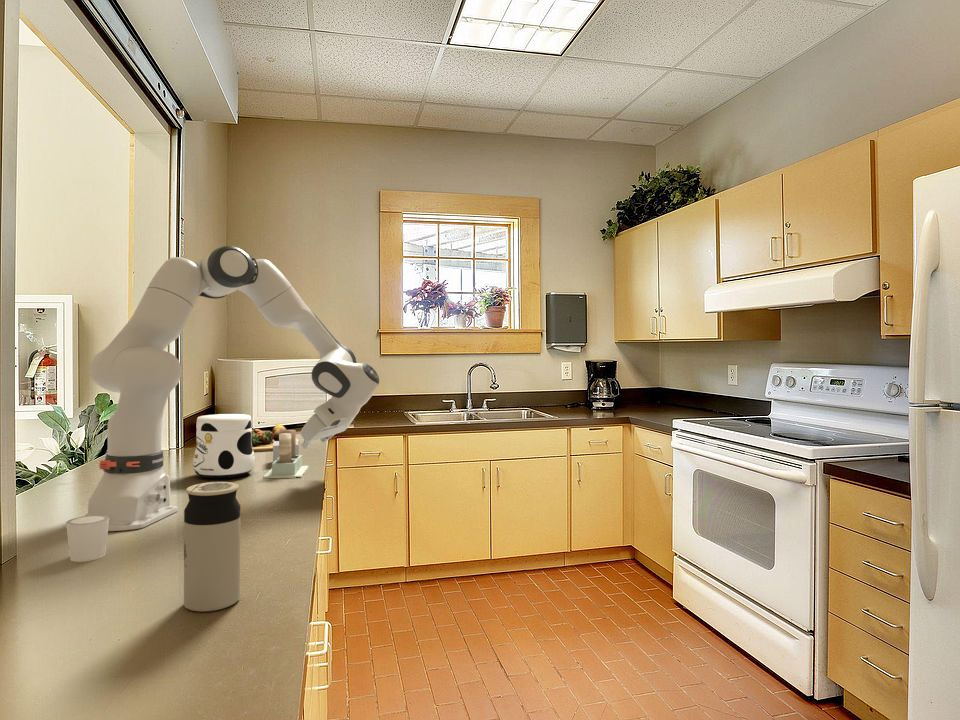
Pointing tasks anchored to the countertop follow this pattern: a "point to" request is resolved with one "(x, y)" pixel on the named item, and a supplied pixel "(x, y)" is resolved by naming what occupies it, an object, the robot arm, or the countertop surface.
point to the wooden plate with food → (266, 438)
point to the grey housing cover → (276, 449)
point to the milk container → (223, 446)
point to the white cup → (87, 537)
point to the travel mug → (211, 547)
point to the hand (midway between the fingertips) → (313, 444)
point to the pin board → (291, 468)
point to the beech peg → (285, 448)
